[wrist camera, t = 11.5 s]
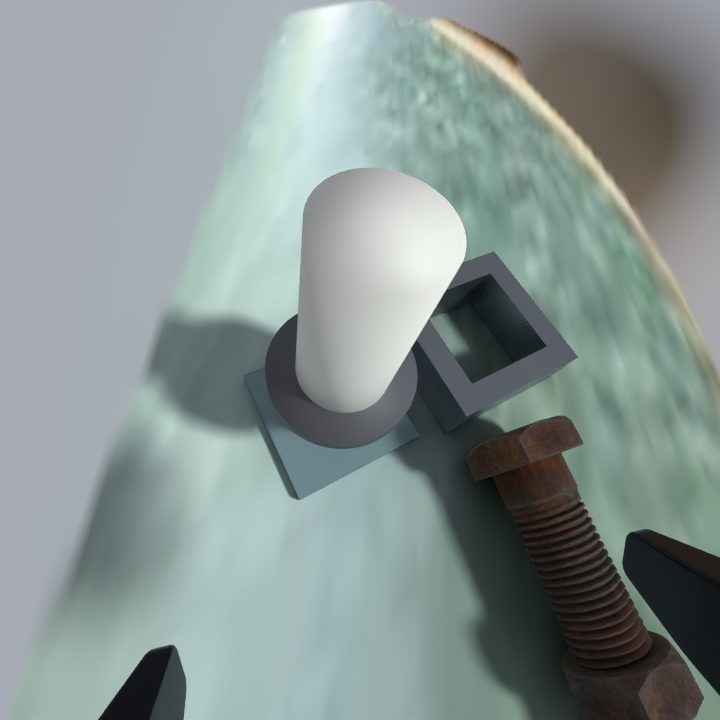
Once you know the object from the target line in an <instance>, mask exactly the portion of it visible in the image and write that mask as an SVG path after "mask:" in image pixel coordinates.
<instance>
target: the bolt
mask: <svg viewBox="0 0 720 720" xmlns="http://www.w3.org/2000/svg"><path fill="white" fill-rule="evenodd" d="M582 444H583V441H582V439H581V438H580V436H579V434H578V432H577V430H576V428H575V426H574V425H573V423H572V421H571V420H570V419H569V418H568V417H566V416H555V417H551V418H548V419H543V420H540V421H537V422H534V423H532V424H529V425H526V426H523V427H521V428H518V429H515V430H512V431H510V432H507V433H504V434H502V435H499V436H497V437H494V438H491V439H488V440H486V441H483V442H481V443H479V444H477V445H475V446H473V447H471V448H469V449H467V450H466V451H464V455H465V459H466V461H467V464H468V466H469V468H470V471H471V473H472V476H473V478H474V481H478V480H481V479H484V478H488V477H491V476H492V477H493V479H494V481H495V483H496V486H497V488H498V490H499V493H500V495H501V497H502V499H503V502H504V504H505V506H506V508H507V509H508V510H509V511H510V513H511V515H512V516H513V517H515V518H514V522H515V523H517V524H519V525H518V526H517V529H518V530H520V531H523V532H522V533H521V534H520V536H521V537H522V538H525V540H524V541H523V543H524V545H526V546H528V548H527V549H526V550H527V552H528V553H530V554H531V555H530V560H532V561H534V563H533V566H534V568H535V569H537V570H538V571H537V576H539V577H541V579H540V583H541V584H542V585H544V589H543V590H544V591H545V592H546V593H547V594H548V596H547V599H548V600H549V601H551V608H552V609H553V610H555V613H554V615H555V616H556V618H557V619H558V624H559V626H560V627H562V633H563V635H565V636H566V638H565V640H566V642H567V644H569V645H570V646H569V648H568V649H567V650H566V651H565V652H564V654H563V656H562V659H561V664H562V667H563V670H564V673H565V676H566V678H567V681H568V683H569V686H570V688H571V691H572V693H573V696H574V698H575V700H576V703H577V705H578V707H579V710H580V712H581V715H582V717H583V719H584V720H693V719H694V718H695V717H696V716H697V713H698V710H699V708H700V706H701V704H702V701H703V699H704V697H703V695H702V693H701V691H700V689H699V687H698V685H697V683H696V681H695V679H694V677H693V675H692V673H691V671H690V670H689V668H688V666H687V664H686V662H685V661H684V660H683V658H682V657H681V656H680V654H679V653H678V652H677V650H676V649H675V648H674V647H673V645H672V644H671V643H670V642H669V641H668V640H667V639H666V638H665V637H663V636H661V635H659V634H657V633H654V632H651V631H647V629H646V627H645V626H644V625H643V620H642V619H641V617H639V616H638V615H639V613H638V611H637V609H636V608H635V607H634V603H633V601H632V599H630V598H629V597H630V595H629V593H628V592H627V590H626V589H625V585H624V583H623V582H622V581H620V580H621V577H620V575H619V574H618V573H617V572H616V571H617V569H616V567H615V566H614V564H612V562H613V561H612V559H611V558H610V557H608V551H607V550H606V549H604V548H603V547H604V544H603V542H601V541H599V539H600V535H599V534H598V533H595V531H596V527H595V526H594V525H592V518H590V517H587V516H588V513H589V512H588V511H587V510H586V509H583V508H584V506H585V504H584V503H583V502H579V501H580V500H581V497H580V495H579V493H578V491H577V484H576V482H575V480H574V478H573V476H572V474H571V472H570V470H569V468H568V466H567V464H566V462H565V460H564V458H563V456H562V454H561V452H563V451H566V450H569V449H572V448H574V447H577V446H580V445H582Z"/></svg>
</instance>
